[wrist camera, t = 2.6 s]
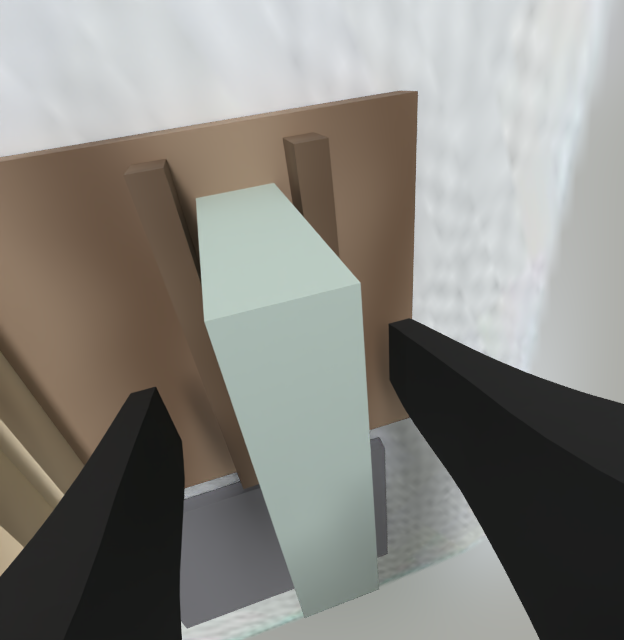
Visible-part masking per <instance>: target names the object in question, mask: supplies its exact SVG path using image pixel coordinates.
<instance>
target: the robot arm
mask: <svg viewBox="0 0 624 640" xmlns="http://www.w3.org/2000/svg"><path fill="white" fill-rule="evenodd" d="M388 326H389V380H390V382H391V384H392V386H393V388H394V390H395V392H396V394H397V396H398V398H399V400H400V401H401V403H402V405H403V407H404V409H405V411H406V412H407V414H408V415H409V417H410V418H411V419H412V421H413V422H414V424H415V425H416V427H417V428H418V430H419V431H420V432H421V434H422V435H423V437H424V438H425V440H426V441H427V442H428V444H429V445H430V447H431V448H432V449H433V451H434V452H435V454H436V455H437V457H438V458H439V459H440V461H441V462H442V464H443V465H444V467H445V468H446V469H447V471H448V472H449V474H450V475H451V476H452V478H453V480H454V481H455V483H456V484H457V486H458V487H459V489H460V490H461V492H462V494H463V495H464V497H465V499H466V501H467V502H468V504H469V506H470V508H471V509H472V511H473V513H474V515H475V516H476V518H477V520H478V522H479V523H480V525H481V527H482V529H483V530H484V532H485V534H486V536H487V538H488V540H489V541H490V543H491V545H492V547H493V549H494V551H495V552H496V554H497V556H498V558H499V560H500V562H501V564H502V566H503V567H504V569H505V571H506V573H507V575H508V577H509V579H510V581H511V583H512V585H513V587H514V589H515V591H516V593H517V595H518V596H519V599H520V600H521V602H522V604H523V606H524V608H525V610H526V612H527V614H528V616H529V618H530V620H531V622H532V624H533V626H534V629H535V630H536V633H537V635H538V637H539V639H540V640H624V404H621V403H618V402H615V401H611V400H608V399H604V398H601V397H597V396H593V395H590V394H586V393H584V392H580V391H577V390H574V389H571V388H568V387H565V386H562V385H559V384H557V383H554V382H551V381H548V380H545V379H542V378H539V377H537V376H534V375H532V374H529V373H526V372H524V371H521V370H519V369H517V368H514V367H512V366H509V365H507V364H505V363H502V362H500V361H498V360H495V359H493V358H491V357H489V356H486V355H484V354H482V353H480V352H478V351H476V350H473V349H471V348H469V347H467V346H465V345H463V344H461V343H459V342H457V341H455V340H453V339H451V338H449V337H447V336H445V335H443V334H441V333H439V332H437V331H435V330H433V329H431V328H429V327H427V326H425V325H423V324H421V323H419V322H417V321H415V320H412V319H410V318H408V319H404V320H400V321H397V322H393V323H389V324H388ZM184 489H185V473H184V458H183V446H182V440H181V438H180V436H179V433H178V431H177V429H176V427H175V425H174V423H173V421H172V419H171V417H170V415H169V413H168V410H167V408H166V406H165V404H164V402H163V400H162V398H161V396H160V394H159V392H158V390H157V387H152V388H148V389H145V390H141V391H137V392H133V393H130V395H129V397H128V398H127V400H126V401H125V403H124V404H123V406H122V407H121V409H120V411H119V412H118V414H117V415H116V417H115V419H114V420H113V422H112V424H111V425H110V427H109V428H108V430H107V432H106V433H105V435H104V436H103V438H102V440H101V441H100V443H99V444H98V446H97V447H96V449H95V450H94V452H93V454H92V455H91V457H90V458H89V460H88V461H87V463H86V464H85V466H84V467H83V469H82V470H81V472H80V473H79V475H78V476H77V478H76V479H75V481H74V482H73V483H72V485H71V486H70V488H69V489H68V490H67V492H66V493H65V495H64V496H63V497H62V499H61V500H60V502H59V503H58V505H57V506H56V507H55V509H54V510H53V512H52V513H51V514H50V516H49V517H48V518H47V519H46V521H45V522H44V523H43V525H42V526H41V527H40V529H39V530H38V531H37V532H36V534H35V535H34V536H33V537H32V539H31V540H30V541H29V542H28V544H27V545H26V546H25V547H24V548H23V550H22V551H21V552H20V553H19V555H18V556H17V557H16V558H15V559H14V561H13V562H12V563H11V564H10V565H9V567H8V568H7V569H6V570H5V571H4V573H3V574H2V575H1V576H0V640H182V634H181V610H180V566H181V547H182V528H183V510H184Z"/></svg>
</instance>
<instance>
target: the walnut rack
mask: <svg viewBox="0 0 624 640" xmlns="http://www.w3.org/2000/svg"><path fill="white" fill-rule="evenodd" d="M417 103H418V91H395V92H389V93H383V94H377V95H371V96H365V97H359V98H353V99H347V100H341V101H335V102H329V103H323V104H317V105H311V106H306V107H300V108H294V109H288V110H282V111H276V112H270V113H264V114H258V115H252V116H246V117H240V118H234V119H228V120H222V121H216V122H210V123H204V124H198V125H192V126H186V127H180V128H174V129H168V130H162V131H156V132H150V133H144V134H138V135H132V136H126V137H120V138H114V139H108V140H102V141H96V142H90V143H84V144H78V145H72V146H66V147H60V148H54V149H48V150H42V151H36V152H30V153H24V154H18V155H12V156H6V157H0V351H1V353H2V354H3V356H4V357H5V358H6V360H7V361H8V362H9V364H10V365H11V366H12V368H13V369H14V371H15V372H16V373H17V375H18V376H19V377H20V379H21V380H22V381H23V383H24V384H25V385H26V387H27V388H28V390H29V391H30V392H31V394H32V395H33V396H34V398H35V399H36V400H37V402H38V403H39V404H40V406H41V407H42V409H43V410H44V411H45V413H46V414H47V415H48V417H49V418H50V419H51V421H52V422H53V424H54V425H55V426H56V428H57V429H58V430H59V432H60V433H61V434H62V436H63V437H64V438H65V440H66V441H67V443H68V444H69V445H70V447H71V448H72V449H73V451H74V452H75V453H76V455H77V456H78V458H79V459H80V460H81V462H82V463H83V464H84V466H85V464H86V463H87V461H88V460H89V458H90V457H91V455H92V454H93V452H94V450H95V449H96V447H97V446H98V444H99V443H100V441H101V440H102V438H103V436H104V435H105V433H106V432H107V430H108V428H109V427H110V425H111V424H112V422H113V420H114V419H115V417H116V415H117V414H118V412H119V411H120V409H121V407H122V406H123V404H124V403H125V401H126V400H127V398H128V397H129V395H130V393H133V392H137V391H141V390H145V389H148V388H152V387H157V390H158V392H159V394H160V396H161V398H162V400H163V402H164V404H165V406H166V408H167V410H168V413H169V415H170V417H171V419H172V421H173V423H174V425H175V427H176V429H177V431H178V433H179V436H180V438H181V440H182V446H183V458H184V473H185V488H187V487H190V486H194V485H197V484H200V483H203V482H206V481H210V480H213V479H216V478H219V477H222V476H225V475H229V474H232V473H235V472H237V474H238V476H239V479H240V481H241V484H242V487H243V489H246V488H249V487H252V486H255V485H258V484H259V482H258V479H257V476H256V473H255V470H254V467H253V464H252V461H251V458H250V455H249V452H248V449H247V446H246V443H245V440H244V437H243V434H242V431H241V428H240V426H239V423H238V420H237V417H236V414H235V411H234V408H233V405H232V402H231V399H230V396H229V393H228V390H227V387H226V384H225V381H224V378H223V375H222V372H221V369H220V367H219V364H218V361H217V358H216V355H215V352H214V349H213V346H212V343H211V340H210V337H209V334H208V331H207V328H206V325H205V322H204V310H203V296H202V281H201V267H200V252H199V238H198V223H197V209H196V198H200V197H205V196H210V195H215V194H220V193H225V192H230V191H235V190H240V189H245V188H250V187H255V186H260V185H266V184H271V183H275V185H276V186H277V187H278V188H279V189H280V190H281V192H282V193H283V194H284V195H285V196H286V197H287V198H288V200H289V201H290V202H291V203H292V204H293V205H294V207H295V208H296V209H297V210H298V211H299V212H300V214H301V215H302V216H303V217H304V218H305V219H306V220H307V222H308V223H309V224H310V225H311V226H312V227H313V229H314V230H315V231H316V232H317V233H318V234H319V235H320V237H321V238H322V239H323V240H324V241H325V242H326V244H327V245H328V246H329V247H330V248H331V249H332V250H333V252H334V253H335V254H336V255H337V256H338V257H339V259H340V260H341V261H342V262H343V263H344V264H345V266H346V267H347V268H348V269H349V270H350V271H351V272H352V274H353V275H354V276H355V277H356V278H357V279H358V281H359V282H360V283H361V299H362V316H363V332H364V349H365V365H366V382H367V398H368V415H369V430H372V429H375V428H378V427H381V426H384V425H388V424H391V423H394V422H397V421H400V420H403V419H407V418H409V415H408V414H407V412H406V411H405V409H404V407H403V405H402V403H401V401H400V400H399V398H398V396H397V394H396V392H395V390H394V388H393V386H392V384H391V382H390V380H389V326H388V324H389V323H393V322H397V321H400V320H404V319H408V318H410V319H412V298H413V259H414V220H415V181H416V142H417Z"/></svg>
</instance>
